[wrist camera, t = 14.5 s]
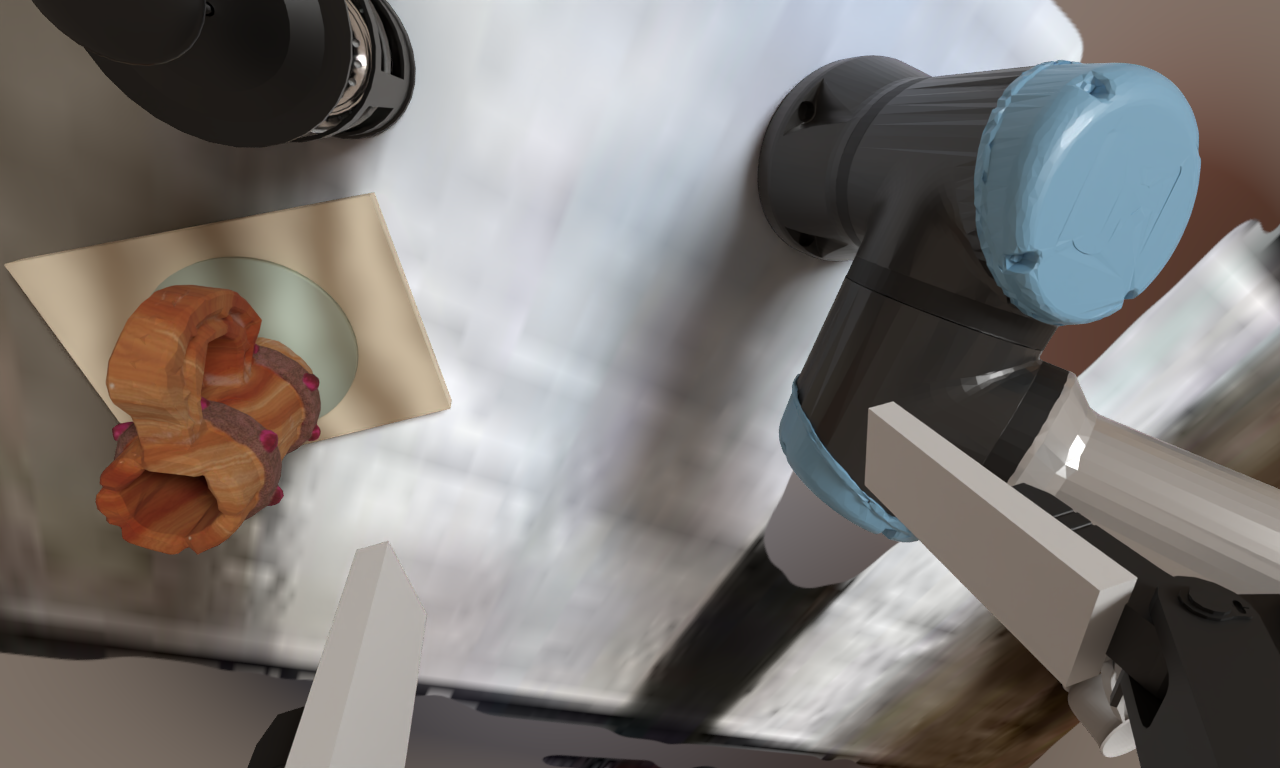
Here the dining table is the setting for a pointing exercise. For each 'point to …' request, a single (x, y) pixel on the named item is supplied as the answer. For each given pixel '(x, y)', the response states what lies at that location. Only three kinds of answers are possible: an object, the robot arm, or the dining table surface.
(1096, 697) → the teacup
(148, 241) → the serving board
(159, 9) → the french press
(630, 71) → the dining table surface
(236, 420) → the mug
